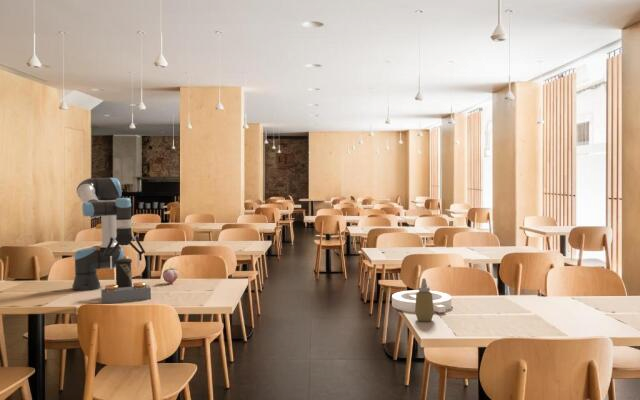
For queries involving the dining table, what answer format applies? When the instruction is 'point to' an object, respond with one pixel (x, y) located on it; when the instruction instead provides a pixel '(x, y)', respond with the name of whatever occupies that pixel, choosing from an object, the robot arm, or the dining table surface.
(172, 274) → the decorative fruit
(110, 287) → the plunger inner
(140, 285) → the gold lidded jar
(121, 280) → the container
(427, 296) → the squeeze bottle
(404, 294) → the ring with crossbar
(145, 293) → the grey block stand
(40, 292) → the dining table surface
